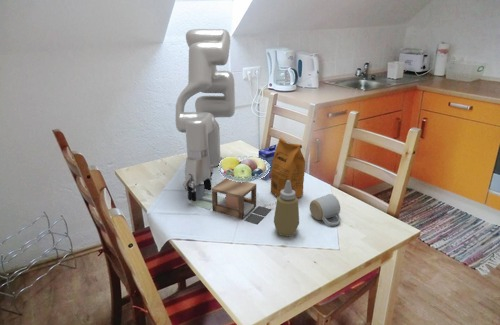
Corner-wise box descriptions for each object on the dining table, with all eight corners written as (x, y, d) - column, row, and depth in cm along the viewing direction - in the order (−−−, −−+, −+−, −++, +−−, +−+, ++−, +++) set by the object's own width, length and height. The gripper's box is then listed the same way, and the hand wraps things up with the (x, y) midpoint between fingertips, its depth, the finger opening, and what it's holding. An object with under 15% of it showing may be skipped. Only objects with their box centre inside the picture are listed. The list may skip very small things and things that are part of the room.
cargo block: (225, 205, 126) (225, 194, 124) (232, 200, 129) (232, 189, 128) (236, 208, 124) (236, 197, 122) (243, 203, 127) (243, 192, 126)
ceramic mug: (307, 214, 123) (308, 195, 120) (325, 209, 127) (327, 190, 124) (326, 230, 115) (329, 209, 112) (345, 223, 118) (348, 203, 115)
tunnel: (212, 211, 125) (211, 188, 122) (227, 198, 134) (227, 177, 130) (242, 219, 120) (242, 196, 117) (256, 206, 129) (256, 183, 125)
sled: (192, 201, 131) (191, 188, 129) (203, 193, 137) (202, 180, 135) (244, 216, 121) (244, 202, 119) (253, 207, 127) (254, 193, 125)
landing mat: (189, 203, 130) (189, 203, 130) (204, 192, 138) (204, 192, 138) (209, 209, 126) (209, 209, 126) (224, 198, 134) (224, 197, 134)
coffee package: (285, 185, 145) (287, 134, 136) (306, 197, 135) (310, 142, 127) (266, 191, 139) (267, 138, 131) (286, 204, 130) (289, 148, 122)
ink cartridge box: (265, 180, 149) (266, 148, 143) (257, 176, 153) (257, 145, 147) (282, 174, 155) (283, 143, 149) (273, 170, 159) (274, 140, 153)
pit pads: (244, 220, 120) (244, 220, 119) (258, 206, 129) (258, 205, 128) (257, 224, 117) (257, 223, 117) (271, 209, 126) (271, 209, 126)
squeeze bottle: (291, 242, 108) (294, 189, 101) (268, 234, 112) (270, 182, 105) (302, 229, 115) (306, 179, 108) (280, 222, 119) (282, 173, 112)
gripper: (203, 143, 135) (205, 184, 142) (173, 158, 121) (177, 202, 127) (219, 146, 132) (221, 188, 138) (191, 162, 118) (194, 207, 124)
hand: (200, 194), depth 133 cm, fingers open, 9 cm apart
